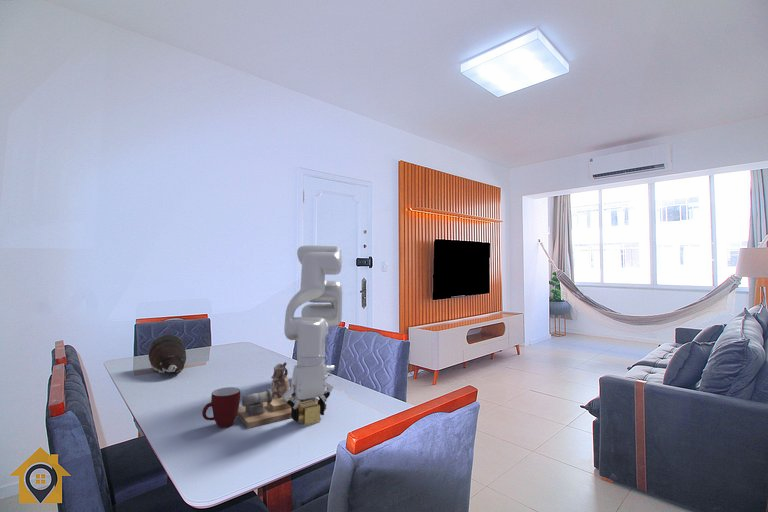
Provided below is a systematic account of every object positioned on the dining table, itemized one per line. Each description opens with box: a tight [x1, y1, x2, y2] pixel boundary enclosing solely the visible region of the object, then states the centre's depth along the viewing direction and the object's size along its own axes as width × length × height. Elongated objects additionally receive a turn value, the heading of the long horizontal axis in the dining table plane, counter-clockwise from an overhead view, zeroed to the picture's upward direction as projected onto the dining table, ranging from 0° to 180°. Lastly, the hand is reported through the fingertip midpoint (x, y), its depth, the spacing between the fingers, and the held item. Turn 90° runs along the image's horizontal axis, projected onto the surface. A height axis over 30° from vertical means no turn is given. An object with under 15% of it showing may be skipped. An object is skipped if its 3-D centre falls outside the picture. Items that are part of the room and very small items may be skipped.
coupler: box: [297, 400, 321, 427], centre depth 117 cm, size 6×5×5 cm
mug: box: [201, 386, 241, 429], centre depth 112 cm, size 10×8×10 cm
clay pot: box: [148, 334, 187, 376], centre depth 166 cm, size 15×15×25 cm
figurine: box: [270, 361, 291, 400], centre depth 138 cm, size 7×7×12 cm
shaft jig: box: [236, 388, 327, 429], centre depth 124 cm, size 26×14×8 cm, turn 127°
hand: (308, 416), depth 117 cm, fingers open, 8 cm apart
